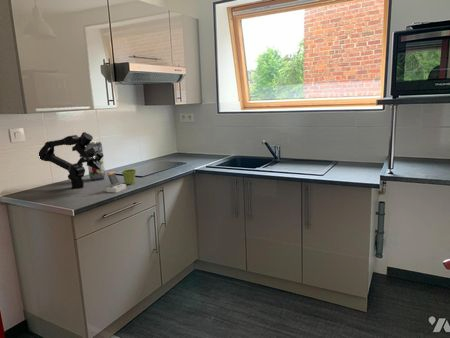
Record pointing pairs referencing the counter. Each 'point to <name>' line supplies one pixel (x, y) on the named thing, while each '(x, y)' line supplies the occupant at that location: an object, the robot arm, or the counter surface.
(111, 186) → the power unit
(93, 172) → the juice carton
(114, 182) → the rocker lever
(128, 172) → the plant pot
